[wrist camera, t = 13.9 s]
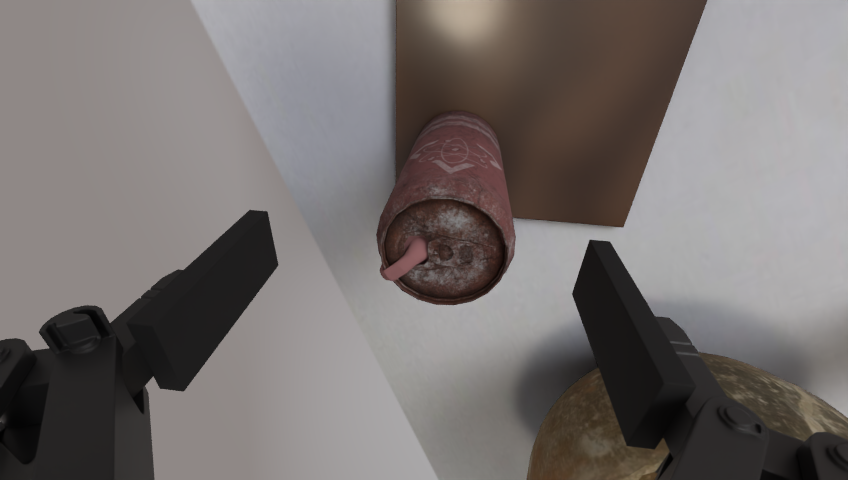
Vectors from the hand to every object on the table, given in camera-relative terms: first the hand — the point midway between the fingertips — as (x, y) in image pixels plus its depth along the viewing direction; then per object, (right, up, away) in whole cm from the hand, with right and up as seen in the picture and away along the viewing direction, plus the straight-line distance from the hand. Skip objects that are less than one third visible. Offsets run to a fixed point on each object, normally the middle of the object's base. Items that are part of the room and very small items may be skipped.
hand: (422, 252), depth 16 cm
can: (+2, +7, +12) cm, 14 cm away
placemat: (+7, +11, +10) cm, 16 cm away
